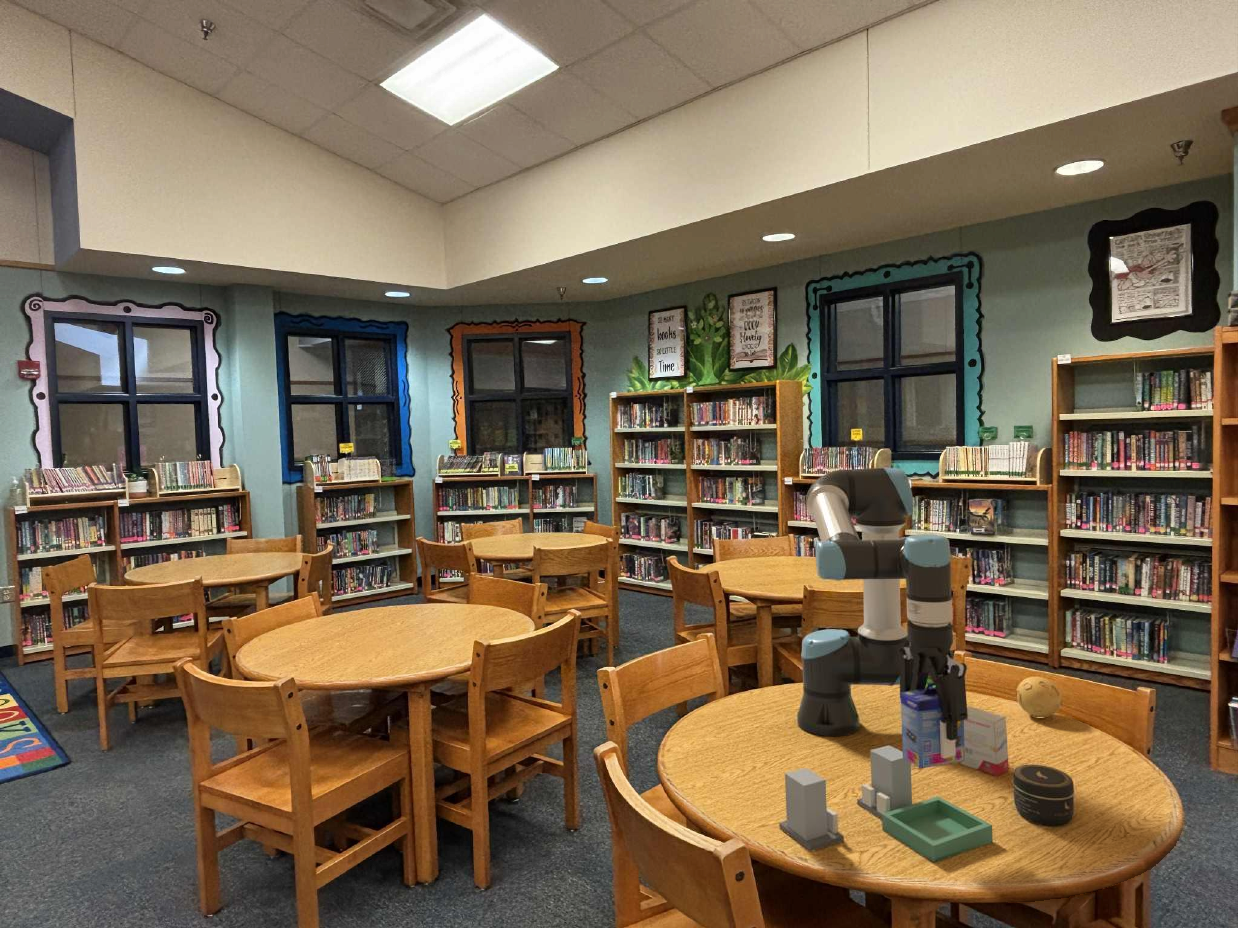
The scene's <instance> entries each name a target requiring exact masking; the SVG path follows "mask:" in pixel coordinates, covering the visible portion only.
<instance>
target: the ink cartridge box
mask: <svg viewBox="0 0 1238 928" xmlns="http://www.w3.org/2000/svg"><path fill="white" fill-rule="evenodd" d="M934 685H935V683H934V682H931V683H928V685H927V686H926V688H925V689H923V690H919V689H917V690H913V691H907V692H902V693H900V692H899V697H900V696H901V699H900V715H901V737H902V738H901V739H902V740H901V742H902V743H901V744H902V752H903V758H905V759H906V760H908V761H909V762H911V765H914V766H915V767H917V768H918V769H921V770H922V769H925V768H926V769H927V768H931V767H932V768H933V767H938V766H944V765H948V764H949V765H950V764H953V763H960V762H961V761H964V760H965V748H964V720H962V721H958V722H957V728H958V737H957V739H955V750H956V755H955V756H951V757H948V758H942V757H941V743H940V720H941V719H944V718H943V714H942V710H941V706H940V702H939V698H938V694H937V690H936V687H933V688H930V687H932V686H934ZM950 714H951V713H950Z"/></svg>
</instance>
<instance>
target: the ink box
mask: <svg viewBox="0 0 1238 928" xmlns="http://www.w3.org/2000/svg"><path fill="white" fill-rule="evenodd" d="M967 714H968V718H967V719H966V720H964V748H965V760H964V761H961V762H959V763H960V765H963V766H966V767H969V768H972V769H975V770H977V771H981V772H984V773H987V774H991V775H993V776H995V777H999V776H1002V775H1004V774H1005V773H1006V772H1007V771H1009V770H1010V767H1009V766H1010V765H1009V749H1008V732H1007V730H1008V729H1007V717H1006V716H1005V715H1001V714H998V713H994V712H990V711H987V710H985V709H980V708H977V707H974V706H967Z"/></svg>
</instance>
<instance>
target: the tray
mask: <svg viewBox="0 0 1238 928" xmlns="http://www.w3.org/2000/svg"><path fill="white" fill-rule="evenodd" d="M881 823H882V824H881V826H882V827H881V829H882V831H883V832H885V833H886V834H888V835H889V836H891V837H893V838H894V839H895V840H897V841H899V842H900V843H902V844H904V845H905V846H907V847H908V848H910V849H911V850H912V851H914V852H916V853H917V854H919V855H920V856H923V857H924V858H925V859H927V860H929V861H930V862H931V863H933V864H936V863H938V862H940V861H944V860H947V859H949V858H951V857H956V856H957V855H960V854H961V855H962V854H964V853H966V852H969V851H971V850H974V849H977V848H980V847H982V846H986V845H988V844H990V843H993V840H994V839H993V837H994V836H993V824H991V823H989V822H987V821H985V820H983V819H981V818H980V817H978V816H976V815H974V814H973V813H970V812H968V811H967V810H965V809H964V808H963V809H962V808H961V807H959V806H957V805H955V804H954V803H951V802H949V801H948V800H946V799H944V798H942V797H941V796H935V797H932V798H928V799H925V800H922V801H919V802H916V803H912V805H909V806H906V807H903V808H899V809H896V810H893V811H890V812H887V813H884V814H882V819H881Z"/></svg>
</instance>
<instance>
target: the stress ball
mask: <svg viewBox="0 0 1238 928" xmlns="http://www.w3.org/2000/svg"><path fill="white" fill-rule="evenodd" d="M1015 698H1016V700H1017V702H1018V704H1019V706H1020V707H1021V708H1022V710H1023V711H1024V712H1026V713H1027V714H1029V715H1031V716H1032V717H1033V716H1035V717H1045V718H1048V717H1051V716H1054V715H1055V714H1056V713H1057V712H1058V711H1059V710H1060V707H1061V705H1063V699H1062V695H1061V692H1060V690H1059V688H1058V686H1057V685H1056V684H1055V683H1054V682H1052V681H1051V680H1050V679H1047V678H1045V677H1042V676H1029V677H1027V678H1025V679H1023V680H1022V681H1020V683H1019V684H1018V686H1017V688H1016V690H1015ZM1035 717H1034V718H1035Z"/></svg>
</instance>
